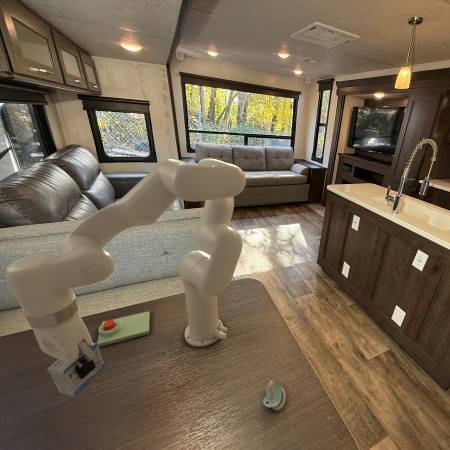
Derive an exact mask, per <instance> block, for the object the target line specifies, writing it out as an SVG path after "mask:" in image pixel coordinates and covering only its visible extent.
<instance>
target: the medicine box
mask: <svg viewBox="0 0 450 450" xmlns="http://www.w3.org/2000/svg"><path fill="white" fill-rule="evenodd" d="M91 350H92V351H93V352H94V353H95V354H96V357H95V358H94V359H93V361H94V364H95V366H96V367H95V369H94V370H93V371H91V372H90V373H89V374H88V375H87V376H86V377H84V378H83V379H80V378H79V376H78V374H77V371H76V369H75V367H76V364H75V363H74V362H73V363H66V362H63V361H61V360H59V359H58V360H57V359H56V361H54V362H53V363H52V364H51V365H49V366H48V367H47V368H46V370H47V372H48V373H49V375H50V377H51V379H52V381H53V383H54V384H55V386H56V388H57V390H58V392H59V393H60V394H63V395H67V396H70V397H77V396H78V395H79V394H80V393H81V391H83V390H84V388H86V387H87V386H88V385H89V384H90V383H91V382H92V381H93V380H94V379H95V378H96V376H98V374H100V373H101V372H102V370H104V369H105V368H106V364H105V362H104V359H103V356H102V354H101V351H100V347H98V345H97V342H93V347H92V348H91ZM84 357H85V356H84V355H83V354H82V355H81V356H79V357H78V359H79V360H80V361H81V360H82V359H83V358H84Z"/></svg>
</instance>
